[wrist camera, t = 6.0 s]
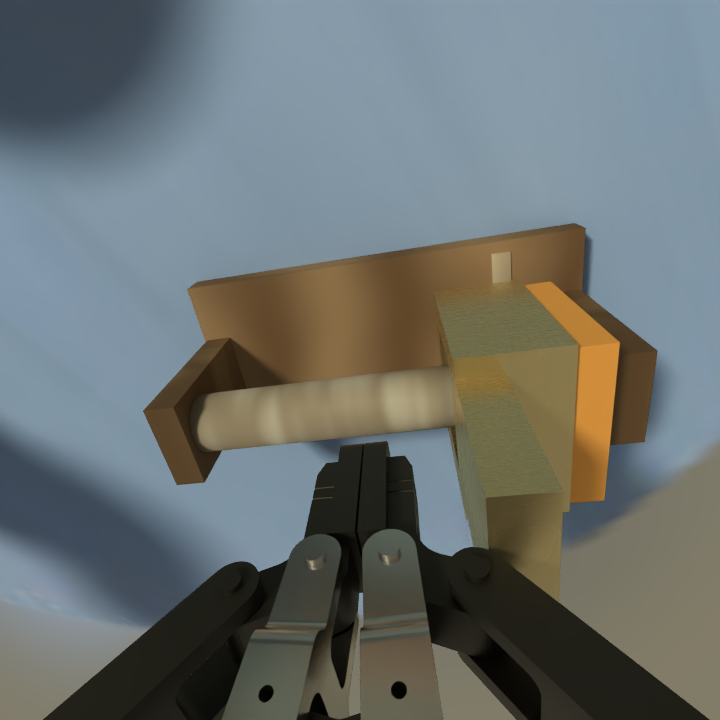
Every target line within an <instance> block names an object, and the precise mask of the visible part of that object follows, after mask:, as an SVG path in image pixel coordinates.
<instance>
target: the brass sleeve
mask: <svg viewBox="0 0 720 720" xmlns="http://www.w3.org/2000/svg"><path fill="white" fill-rule="evenodd" d="M433 294H434V304H435V314H436V324H437V334H438V344H439V354H440V364H441V365H448V367H449V371H450V375H451V384H452V396H453V407H454V418H455V427H448V431H449V436H450V441H451V446H452V451H453V456H454V461H455V466H456V471H457V476H458V481H459V486H460V491H461V496H462V501H463V506H464V511H465V516H466V520H467V519H468V522H469V527H470V532H471V537H472V541H473V546H474V547H480V548H485V549H488V550H490V551H492V552H494V553H496V554H497V555H498V556H500V557H501V558H502V559H503V560H505V561H506V562H507V563H509V564H510V565H511V566H512V567H514V568H515V569H516V570H518V571H519V572H520V573H521V574H523V575H524V576H525V577H527V578H528V579H529V580H531V581H532V582H533V583H534V584H536V585H537V586H538V587H540V588H541V589H542V590H543V591H545V592H546V593H547V594H549V595H550V596H551V597H552V598H554V599H555V600H556V601H558V602H559V587H560V585H559V584H560V565H561V564H560V563H561V543H562V520H563V512H570V494H571V475H572V457H573V439H574V420H575V402H576V383H577V365H578V347H579V344H578V343H577V342H576V341H575V340H574V339H573V338H572V337H571V336H570V334H569V333H568V332H567V331H566V330H565V329H564V328H563V327H562V326H561V325H560V324H559V323H558V321H557V320H556V319H555V318H554V317H553V316H552V315H551V314H550V313H549V312H548V311H547V310H546V308H545V307H544V306H543V305H542V304H541V303H540V302H539V301H538V300H537V299H536V298H535V296H534V295H533V294H532V293H531V292H530V291H529V290H528V289H527V288H526V287H525V286H524V285H523V283H522V282H521V281H520V280H512V281H505V282H498V283H491V284H484V285H477V286H470V287H463V288H456V289H449V290H442V291H435V292H433Z"/></svg>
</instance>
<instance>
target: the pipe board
mask: <svg viewBox="0 0 720 720" xmlns="http://www.w3.org/2000/svg"><path fill="white" fill-rule="evenodd" d="M585 230H586V228H584V227H582V226H580V225H578V224H575V223H573V224H567V225H561V226H554V227H548V228H541V229H535V230H528V231H522V232H516V233H509V234H503V235H496V236H490V237H483V238H477V239H471V240H464V241H458V242H451V243H445V244H438V245H432V246H426V247H419V248H413V249H406V250H400V251H393V252H387V253H381V254H374V255H368V256H361V257H355V258H348V259H342V260H336V261H329V262H323V263H316V264H310V265H303V266H297V267H291V268H284V269H278V270H271V271H265V272H258V273H252V274H246V275H239V276H233V277H226V278H220V279H213V280H207V281H201V282H197V283H195V284H194V285H192V286H191V287H190V288H188V289H187V290H188V293H189V296H190V298H191V301H192V304H193V307H194V310H195V313H196V315H197V318H198V321H199V324H200V327H201V330H202V332H203V335H204V338H205V341H206V343H205V344H204V345H203V346H202V347H201V348H200V349H199V350H198V351H197V352H196V354H195V355H194V356H193V357H192V358H191V359H190V360H189V361H188V362H187V363H186V365H185V366H184V367H183V368H182V369H181V370H180V371H179V372H178V373H177V374H176V375H175V377H174V378H173V379H172V380H171V381H170V382H169V383H168V384H167V385H166V386H165V388H164V389H163V390H162V391H161V392H160V393H159V394H158V395H157V396H156V397H155V399H154V400H153V401H152V402H151V403H150V404H149V405H148V406H147V407H146V408H145V410H144V411H143V412H144V414H145V416H146V418H147V421H148V423H149V425H150V427H151V429H152V432H153V434H154V436H155V438H156V440H157V442H158V445H159V447H160V449H161V451H162V453H163V456H164V458H165V460H166V462H167V464H168V467H169V469H170V471H171V473H172V475H173V477H174V480H175V482H176V484H177V485H182V484H193V483H204V482H205V481H206V479H207V477H208V475H209V473H210V472H211V470H212V468H213V466H214V464H215V462H216V461H217V459H218V457H219V455H220V453H221V451H222V450H231V449H240V448H250V447H260V446H270V445H280V444H290V443H299V442H309V441H319V440H329V439H339V438H349V437H358V436H368V435H378V434H388V433H398V432H408V431H417V430H427V429H437V428H447V427H455V418H454V407H453V396H452V384H451V375H450V371H449V367H448V365H441V364H440V354H439V344H438V334H437V324H436V314H435V304H434V294H433V292H435V291H442V290H449V289H456V288H463V287H470V286H477V285H484V284H491V283H498V282H505V281H512V280H520V281H521V282H522V283H523V285H529V284H536V283H543V282H550V281H551V282H552V283H553V284H554V285H555V286H557V287H558V288H559V289H560V290H561V291H562V292H563V293H564V294H566V295H567V296H568V297H569V298H570V299H571V300H572V301H574V302H575V303H576V304H577V305H578V306H579V307H580V308H582V309H583V310H584V311H585V312H586V313H587V314H588V315H589V316H591V317H592V318H593V319H594V320H595V321H596V322H597V323H599V324H600V325H601V326H602V327H603V328H604V329H605V330H606V331H608V332H609V333H610V334H611V335H612V336H613V337H614V338H616V339H617V340H618V341H619V342H620V347H619V357H618V367H617V377H616V387H615V397H614V407H613V417H612V427H611V437H610V445H616V444H627V443H638V442H645V436H646V429H647V422H648V415H649V408H650V401H651V393H652V386H653V379H654V372H655V365H656V358H657V350H656V349H655V348H653V347H652V346H651V345H649V344H648V343H647V342H646V341H644V340H643V339H642V338H641V337H639V336H638V335H637V334H636V333H634V332H633V331H632V330H630V329H629V328H628V327H627V326H625V325H624V324H623V323H622V322H620V321H619V320H618V319H617V318H615V317H614V316H613V315H611V314H610V313H609V312H608V311H606V310H605V309H604V308H603V307H601V306H600V305H599V304H598V303H596V302H595V301H594V300H592V299H591V298H590V297H589V296H587V295H586V294H585V293H584V292H582V285H583V266H584V248H585Z"/></svg>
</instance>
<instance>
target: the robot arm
mask: <svg viewBox="0 0 720 720" xmlns="http://www.w3.org/2000/svg"><path fill="white" fill-rule="evenodd" d="M362 592H363V614H364V625H363V628H361V630H360V699H361V700H360V701H361V713H359V714H356V715H353V716H350V717H349V690H350V684H351V676H352V669H353V661H354V655H355V648H356V640H357V632H358V626H359V615H358V601H359V593H362ZM431 643H434V644H437V645H440V646H443V647H447V648H449V649H452V650H455V651H458V654H459V656H460V657H461V659H462V660H463V661H464V663H465V664H466V665H467V666H468V667H469V668H470V669H471V670H472V671H473V672H474V674H475V675H476V676H477V677H478V678H479V679H480V680H481V681H482V682H483V683H484V685H485V686H486V687H487V688H488V689H489V690H490V691H491V692H492V693H493V694H494V695H495V697H496V698H497V699H498V700H499V701H500V702H501V703H502V704H503V705H504V706H505V708H506V709H507V710H508V711H509V712H510V713H511V714H512V715H513V716H514V717H515V719H516V720H709V719H708V718H707V717H705V716H704V715H703V714H701V713H700V712H699V711H698V710H696V709H695V708H694V707H693V706H691V705H690V704H689V703H687V702H686V701H685V700H684V699H682V698H681V697H680V696H678V695H677V694H676V693H674V692H673V691H672V690H671V689H669V688H668V687H667V686H666V685H664V684H663V683H662V682H660V681H659V680H658V679H657V678H655V677H654V676H653V675H651V674H650V673H649V672H648V671H646V670H645V669H644V668H642V667H641V666H640V665H639V664H637V663H636V662H635V661H633V660H632V659H631V658H630V657H628V656H627V655H626V654H624V653H623V652H622V651H620V650H619V649H618V648H617V647H615V646H614V645H613V644H612V643H610V642H609V641H608V640H606V639H605V638H604V637H603V636H601V635H600V634H599V633H597V632H596V631H595V630H593V629H592V628H591V627H589V626H588V625H587V624H586V623H584V622H583V621H582V620H581V619H579V618H578V617H577V616H576V615H574V614H573V613H572V612H570V611H569V610H568V609H567V608H565V607H564V606H563V605H561V604H560V603H559V602H558V601H556V600H555V599H554V598H552V597H551V596H550V595H549V594H547V593H546V592H545V591H543V590H542V589H541V588H540V587H538V586H537V585H536V584H534V583H533V582H532V581H531V580H529V579H528V578H527V577H525V576H524V575H523V574H521V573H520V572H519V571H518V570H516V569H515V568H514V567H512V566H511V565H510V564H509V563H507V562H506V561H505V560H503V559H502V558H501V557H500V556H498V555H497V554H496V553H494V552H492V551H490V550H488V549H485V548H480V547H469V548H465V549H462V550H460V551H458V552H457V553H455V554H454V555H453V556H452V557H451V556H447V555H443V554H439V553H436V552H434V551H432V550H430V549H428V548H427V547H426V546H425V545H424V544H423V543H422V542H421V541H420V529H419V517H418V503H417V496H416V489H415V482H414V475H413V469H412V465H411V464H410V462H409V461H408V460H407V458H406V457H405V456H396V457H390V452H389V446H388V442H387V441H384V442H374V443H365V444H355V445H345V446H341V448H340V453H339V460H338V462H334V463H326V464H325V466H324V467H323V468H322V470H321V471H320V472H319V474H318V476H317V480H316V485H315V490H314V494H313V500H312V504H311V508H310V513H309V518H308V522H307V527H306V532H305V536H304V539H303V540H302V541H300V542H299V543H298V544H297V545H296V546H295V547H294V548H293V550H292V551H291V554H290V556H289V559H288V560H287V561H285V562H283V563H281V564H279V565H276V566H273V567H271V568H268V569H265V570H262V571H260V572H258V571H257V569H256V567H255V566H254V565H252V564H251V563H248V562H234V563H231V564H229V565H226V566H224V567H223V568H221V569H220V570H218V571H217V572H216V573H215V574H214V575H212V576H211V577H210V578H209V579H208V580H207V581H205V582H204V583H203V584H202V585H201V586H199V587H198V588H197V589H196V590H195V591H194V592H192V593H191V594H190V595H189V596H188V597H187V598H185V599H184V600H183V601H182V602H181V603H180V604H178V605H177V606H176V607H175V608H174V609H172V610H171V611H170V612H169V613H168V614H167V615H165V616H164V617H163V618H162V619H161V620H160V621H158V622H157V623H156V624H155V625H154V626H152V627H151V628H150V629H149V630H148V631H147V632H145V633H144V634H143V635H142V636H141V637H140V638H138V639H137V640H136V641H135V642H134V643H132V644H131V645H130V646H129V647H128V648H127V649H126V650H125V651H123V652H122V653H121V654H120V655H119V656H117V657H116V658H115V659H114V660H113V661H112V662H110V663H109V664H108V665H107V666H105V667H104V668H103V669H102V670H101V671H100V672H99V673H97V674H96V675H95V676H94V677H93V678H91V679H90V680H89V681H88V682H87V683H85V684H84V685H83V686H82V687H81V688H80V689H78V690H77V691H76V692H75V693H74V694H73V695H71V696H70V697H69V698H68V699H67V700H66V701H64V702H63V703H62V704H61V705H60V706H58V707H57V708H56V709H55V710H54V711H53V712H52V713H50V714H49V715H48V716H47V717H46V718H44V719H43V720H443V713H442V708H441V701H440V694H439V688H438V682H437V675H436V670H435V663H434V656H433V650H432V644H431ZM209 656H210V657H209ZM208 657H209V658H208ZM207 658H208V659H207ZM206 659H207V660H206ZM205 660H206V661H205ZM204 661H205V662H204Z"/></svg>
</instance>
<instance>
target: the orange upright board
mask: <svg viewBox="0 0 720 720" xmlns="http://www.w3.org/2000/svg"><path fill="white" fill-rule="evenodd" d="M524 286H525V287H526V288H527V289H528V290H529V291H530V292H531V293H532V294H533V295H534V296H535V298H536V299H537V300H538V301H539V302H540V303H541V304H542V305H543V306H544V307H545V308H546V310H547V311H548V312H549V313H550V314H551V315H552V316H553V317H554V318H555V319H556V320H557V321H558V323H559V324H560V325H561V326H562V327H563V328H564V329H565V330H566V331H567V332H568V333H569V334H570V336H571V337H572V338H573V339H574V340H575V341H576V342H577V343H578V344H579V347H578V365H577V383H576V402H575V420H574V439H573V457H572V475H571V494H570V503H578V502H591V501H604V498H605V488H606V478H607V468H608V458H609V448H610V437H611V427H612V417H613V407H614V397H615V387H616V377H617V367H618V357H619V347H620V342H619V341H618V340H617V339H616V338H614V337H613V336H612V335H611V334H610V333H609V332H608V331H606V330H605V329H604V328H603V327H602V326H601V325H600V324H599V323H597V322H596V321H595V320H594V319H593V318H592V317H591V316H589V315H588V314H587V313H586V312H585V311H584V310H583V309H582V308H580V307H579V306H578V305H577V304H576V303H575V302H574V301H572V300H571V299H570V298H569V297H568V296H567V295H566V294H564V293H563V292H562V291H561V290H560V289H559V288H558V287H557V286H555V285H554V284H553V283H552V282H551V281H550V282H543V283H536V284H529V285H524Z"/></svg>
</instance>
